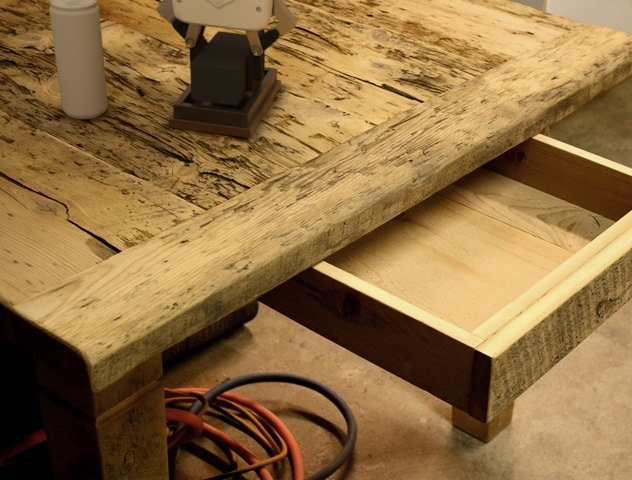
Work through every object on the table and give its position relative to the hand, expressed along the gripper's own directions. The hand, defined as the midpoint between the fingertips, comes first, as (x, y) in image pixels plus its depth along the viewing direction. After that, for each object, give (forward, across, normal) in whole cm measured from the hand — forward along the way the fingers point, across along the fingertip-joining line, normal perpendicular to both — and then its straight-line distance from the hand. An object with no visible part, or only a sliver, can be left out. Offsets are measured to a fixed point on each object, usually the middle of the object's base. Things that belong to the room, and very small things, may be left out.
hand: (227, 81), depth 100 cm
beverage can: (+3, -14, -6) cm, 16 cm away
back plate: (+3, 0, 0) cm, 3 cm away
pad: (0, 0, 0) cm, 0 cm away
